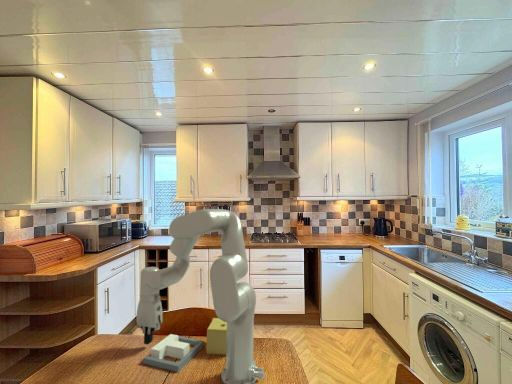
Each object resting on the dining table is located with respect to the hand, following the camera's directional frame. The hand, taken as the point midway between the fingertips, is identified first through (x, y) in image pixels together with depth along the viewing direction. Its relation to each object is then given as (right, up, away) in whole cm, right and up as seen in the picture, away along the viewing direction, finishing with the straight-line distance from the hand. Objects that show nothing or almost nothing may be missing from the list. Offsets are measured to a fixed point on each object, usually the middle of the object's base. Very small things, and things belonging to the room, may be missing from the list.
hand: (148, 342), depth 104 cm
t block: (+12, -2, -4) cm, 13 cm away
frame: (+12, -2, -4) cm, 13 cm away
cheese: (+30, -3, 0) cm, 30 cm away
